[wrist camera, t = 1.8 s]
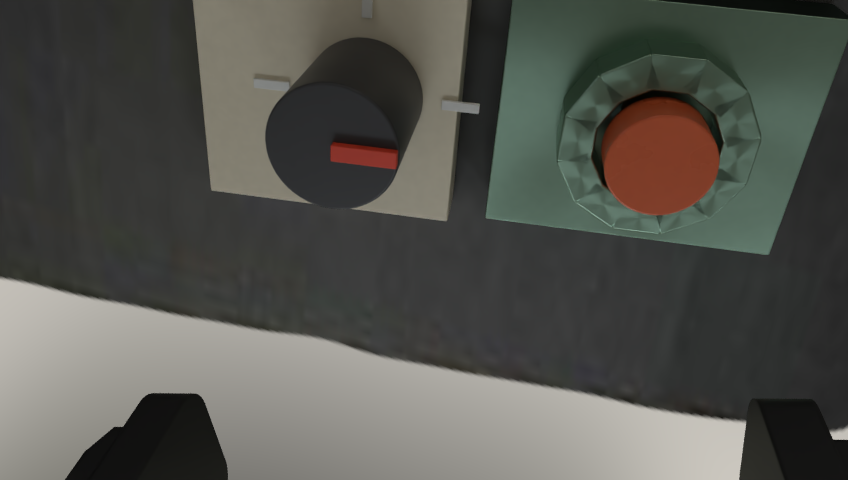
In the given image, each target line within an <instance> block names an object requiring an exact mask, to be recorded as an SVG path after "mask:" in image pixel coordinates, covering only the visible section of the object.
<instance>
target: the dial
mask: <svg viewBox="0 0 848 480" xmlns="http://www.w3.org/2000/svg"><path fill="white" fill-rule="evenodd" d="M422 105H423V93H422V87H421V83H420V80H419V78H418V75H417V73H416V71H415V69H414V68H413V66H412V65H411V63H410V62H409V61H408V60H407V59H406V58H405V57H404V55H403V54H401V53H400V52H399V51H398V50H396V49H395V48H393V47H392V46H390V45H388V44H386V43H384V42H382V41H379V40H375V39H371V38H362V37H357V38H349V39H344V40H341V41H339V42H336V43H334V44H333V45H331V46H329V47H328V48H327V49H325V50H324V51H323V52H322V53H321V54H320V55H319V56H318V57H317V59H316V60H315V61H314V62H313V63H312V64H311V65H310V66H309V67H308V69H307V70H306V71H305V72H304V73H303V74H302V75H301V76H300V77H299V79H298V80H297V81H296V82H295V83H294V84H293V85H292V86H291V87H290V89H289V90H288V91H287V92H286V93H285V94H284V95H283V96H282V97H281V99H280V100H279V101H278V102H277V103H276V105H275V106H274V108H273V109H272V111H271V113H270V115H269V118H268V121H267V125H266V131H265V142H266V150H267V154H268V157H269V160H270V163H271V165H272V167H273V169H274V171H275V172H276V174H277V175H278V177H279V178H280V180H281V181H282V182H283V183H284V184H285V185H286V186H287V187H288V188H289V189H290V190H291V191H292V192H294V193H295V194H296V195H298V196H299V197H301V198H302V199H304V200H306V201H308V202H310V203H312V204H315V205H318V206H321V207H325V208H330V209H351V208H357V207H360V206H363V205H366V204H368V203H370V202H372V201H374V200H375V199H377V198H378V197H380V196H381V195H382V194H383V193H384V192H385V191H386V190H387V189H388V188H389V186H390V185H391V183H392V182H393V180H394V178H395V176H396V173H397V171H398V169H399V166H400V164H401V161H402V159H403V157H404V154H405V152H406V149H407V147H408V145H409V142H410V140H411V137H412V135H413V133H414V130H415V128H416V125H417V123H418V121H419V118H420V115H421V111H422Z"/></svg>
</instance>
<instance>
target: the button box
mask: <svg viewBox="0 0 848 480" xmlns="http://www.w3.org/2000/svg"><path fill="white" fill-rule="evenodd" d="M847 42H848V15H847V14H845V13H844V12H843V11H841V10H840V9H839V8H837V7H836V6H835V5H833V4H825V3H815V2H805V1H795V0H512V5H511V13H510V21H509V29H508V37H507V45H506V53H505V61H504V69H503V77H502V85H501V93H500V101H499V109H498V117H497V125H496V133H495V141H494V149H493V157H492V165H491V173H490V181H489V189H488V197H487V205H486V213H485V218H489V219H496V220H504V221H512V222H519V223H527V224H535V225H542V226H550V227H558V228H565V229H573V230H581V231H588V232H596V233H604V234H611V235H619V236H627V237H634V238H642V239H649V240H657V241H665V242H672V243H680V244H688V245H695V246H703V247H711V248H718V249H726V250H734V251H741V252H749V253H757V254H764V255H769V253H770V251H771V248H772V245H773V242H774V240H775V237H776V234H777V232H778V229H779V226H780V223H781V221H782V218H783V215H784V213H785V210H786V207H787V204H788V202H789V199H790V196H791V194H792V191H793V188H794V185H795V183H796V180H797V177H798V175H799V172H800V169H801V166H802V164H803V161H804V158H805V156H806V153H807V150H808V147H809V145H810V142H811V139H812V137H813V134H814V131H815V128H816V126H817V123H818V120H819V118H820V115H821V112H822V109H823V107H824V104H825V101H826V99H827V96H828V93H829V90H830V88H831V85H832V82H833V80H834V77H835V74H836V71H837V69H838V66H839V63H840V61H841V58H842V55H843V52H844V50H845V47H846V44H847ZM651 97H671V98H676V99H679V100H682V101H684V102H686V103H688V104H690V105H691V106H693V107H694V108H695V109H697V110H698V111H699V112H700V114H701V115H702V116H703V117H704V119H705V121H706V122H707V124H708V127H709V129H710V131H711V133H712V135H713V137H714V139H715V142H716V144H717V146H718V150H719V157H720V163H719V170H718V174H717V176H716V179H715V181H714V183H713V185H712V186H711V188H710V189H709V191H708V192H707V193H706V194H705V195H704V196H703V197H702V198H701V199H700V200H699V201H698V202H696V203H695V204H693V205H692V206H690V207H688V208H686V209H684V210H682V211H679V212H676V213H672V214H667V215H647V214H642V213H639V212H635V211H633V210H631V209H629V208H627V207H626V206H624V205H622V204H621V203H620V202H619V201H618V200H617V199H616V198H615V197H614V196H613V195H612V193H611V192H610V190H609V188H608V186H607V184H606V180H605V176H604V169H603V161H602V154H601V146H602V140H603V136H604V133H605V131H606V129H607V127H608V125H609V124H610V122H611V121H612V120H613V118H614V117H615V116H616V115H617V114H618V113H619V112H620V111H622V110H623V109H624V108H626V107H627V106H629V105H631V104H632V103H635V102H637V101H639V100H643V99H646V98H651Z"/></svg>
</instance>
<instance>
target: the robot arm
mask: <svg viewBox="0 0 848 480" xmlns="http://www.w3.org/2000/svg"><path fill="white" fill-rule="evenodd" d="M227 472H228V471H227V464H226V460H225V458H224V455H223V452H222V449H221V447H220V444H219V441H218V438H217V435H216V433H215V430H214V427H213V425H212V422H211V419H210V416H209V413H208V411H207V408H206V405H205V403H204V400H203V399H202V397H200V396H199V395H198V394H173V393H172V394H169V393H168V394H167V393H165V394H164V393H152V394H148V395H146V396H145V397H144V398H143V399H142V400H141V401H140V403H139V404H138V406H137V407H136V409H135V410H134V412H133V413H132V415H131V416H130V418H129V419H128V421H127V422H126V424H125V425H124V426H123V427H114V428H113V429H111V430H110V431H109V432H108V433H107V434H105V435H104V436H103V437H102V438H101V439H99V440H98V441H97V442H96V443H95V444H93V445H92V446H91V447H90V448H89V449H87V450H86V451H85V452H84V453H83V455H82V456H81V458H80V459H79V461H78V462H77V463H76V465H75V466H74V468H73V469H72V471H71V472H70V473H69V475H68V476H67V478H66V479H65V480H228V473H227ZM739 480H848V440H833V439H832V436H831V434H830V432H829V430H828V427H827V425H826V423H825V421H824V418H823V416H822V414H821V412H820V409H819V407H818V405H817V404H816V403H815V401H813V400H812V399H752V400H751V401H750V403H749V407H748V414H747V422H746V430H745V437H744V445H743V453H742V462H741V469H740V478H739Z"/></svg>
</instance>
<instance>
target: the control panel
mask: <svg viewBox="0 0 848 480" xmlns="http://www.w3.org/2000/svg"><path fill="white" fill-rule="evenodd" d="M471 5H472V0H193V7H194V17H195V27H196V38H197V48H198V58H199V69H200V79H201V89H202V100H203V110H204V120H205V131H206V141H207V151H208V162H209V172H210V182H211V190H213V191H221V192H228V193H236V194H243V195H251V196H258V197H266V198H274V199H281V200H289V201H296V202H304V203H310V202H308V201H306V200H304V199H302V198H301V197H299V196H298V195H296V194H295V193H294V192H292V191H291V190H290V189H289V188H288V187H287V186H286V185H285V184H284V183H283V182H282V181H281V180H280V178H279V177H278V175H277V174H276V172H275V171H274V169H273V167H272V165H271V163H270V160H269V157H268V154H267V150H266V142H265V131H266V125H267V121H268V118H269V115H270V113H271V111H272V109H273V108H274V106H275V105H276V103H277V102H278V101H279V100H280V99H281V97H282V96H283V95H284V94H285V93H286V92H287V91H288V90H289V89H290V87H291V86H292V85H293V84H294V83H295V82H296V81H297V80H298V79H299V77H300V76H301V75H302V74H303V73H304V72H305V71H306V70H307V69H308V67H309V66H310V65H311V64H312V63H313V62H314V61H315V60H316V59H317V57H318V56H319V55H320V54H321V53H322V52H323V51H324V50H325V49H327V48H328V47H329V46H331V45H333V44H334V43H336V42H339V41H341V40H344V39H349V38H357V37H362V38H371V39H375V40H379V41H382V42H384V43H386V44H388V45H390V46H392V47H393V48H395V49H396V50H398V51H399V52H400V53H401V54H403V55H404V57H405V58H406V59H407V60H408V61H409V62H410V63H411V65H412V66H413V68H414V69H415V71H416V73H417V75H418V78H419V80H420V83H421V87H422V93H423V105H422V111H421V115H420V118H419V121H418V123H417V125H416V128H415V130H414V133H413V135H412V137H411V140H410V142H409V145H408V147H407V149H406V152H405V154H404V157H403V159H402V161H401V164H400V166H399V169H398V171H397V173H396V176H395V178H394V180H393V182H392V183H391V185H390V186H389V188H388V189H387V190H386V191H385V192H384V193H383V194H382V195H381V196H380V197H378V198H377V199H375V200H374V201H372V202H370V203H368V204H366V205H363V206H360V207H357V208H351V209H357V210H365V211H372V212H380V213H388V214H395V215H403V216H410V217H418V218H426V219H433V220H441V221H447V219H448V215H449V211H450V207H451V203H452V199H453V190H454V180H455V170H456V159H457V149H458V139H459V128H460V118H461V112H465V113H473V114H479V108H480V104H478V103H469V102H462V98H463V87H464V77H465V67H466V56H467V46H468V36H469V25H470V15H471Z"/></svg>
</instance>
